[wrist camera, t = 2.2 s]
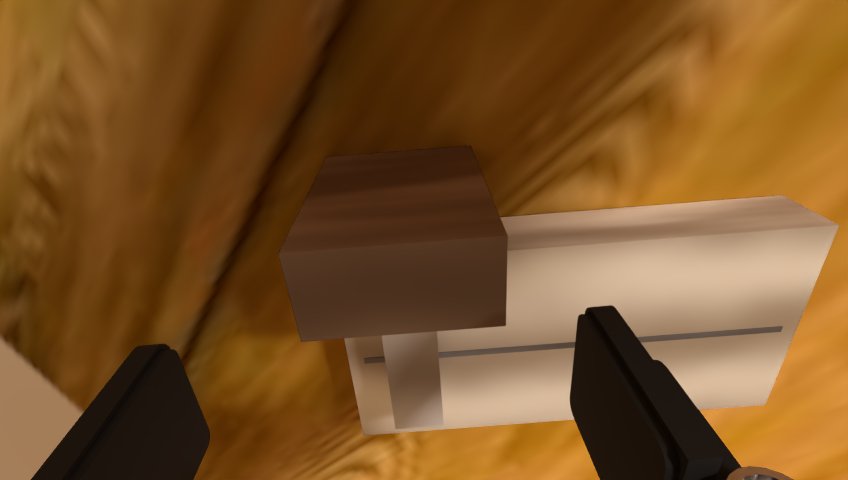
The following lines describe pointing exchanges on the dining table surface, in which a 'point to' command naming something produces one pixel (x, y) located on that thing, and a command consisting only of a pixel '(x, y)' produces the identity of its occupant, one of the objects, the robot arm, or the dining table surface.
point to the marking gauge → (399, 263)
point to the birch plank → (626, 308)
